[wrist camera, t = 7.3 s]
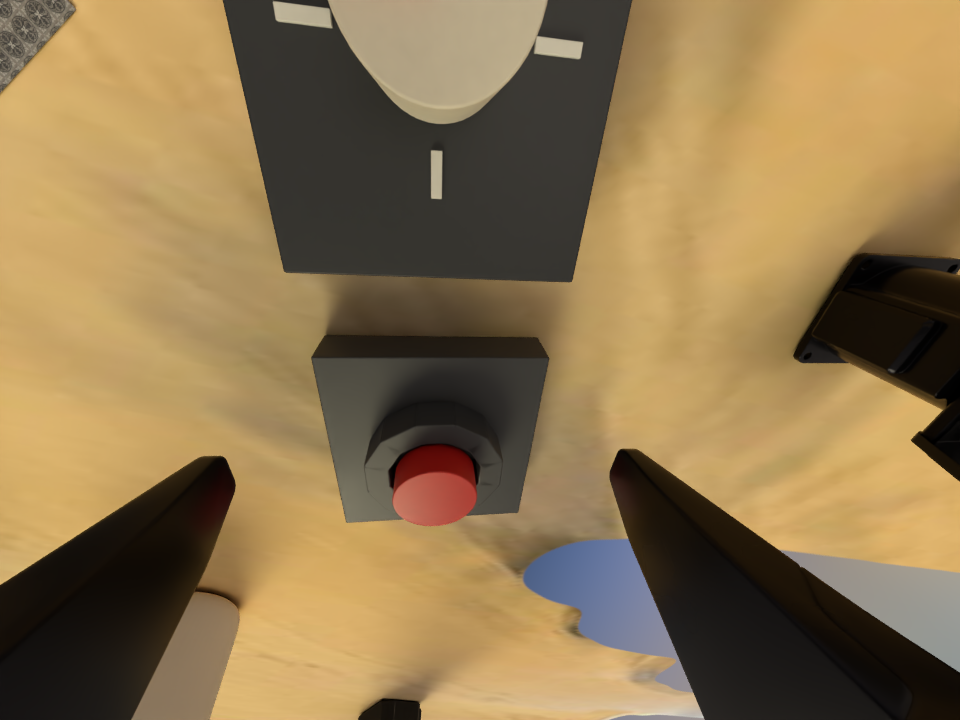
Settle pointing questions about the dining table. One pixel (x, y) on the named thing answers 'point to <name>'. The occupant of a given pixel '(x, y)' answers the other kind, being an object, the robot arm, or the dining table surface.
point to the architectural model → (27, 31)
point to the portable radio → (393, 711)
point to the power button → (434, 485)
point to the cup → (192, 662)
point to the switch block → (428, 412)
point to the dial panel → (426, 150)
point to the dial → (440, 49)
